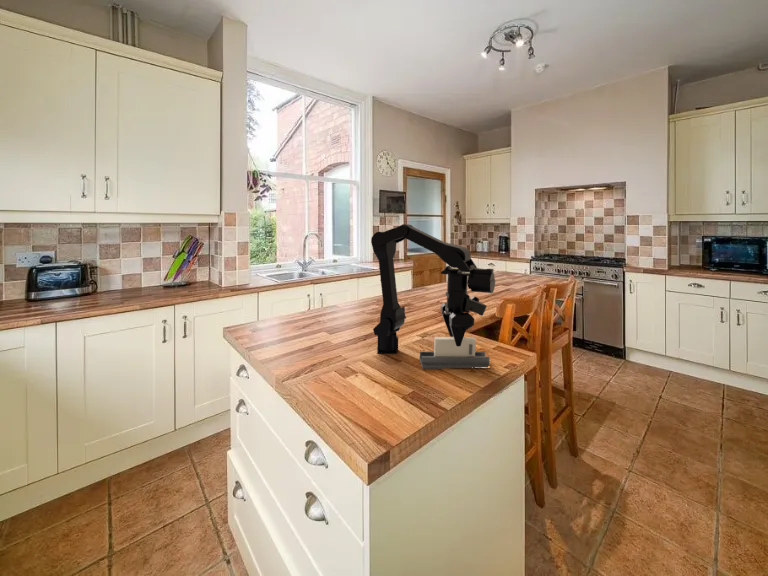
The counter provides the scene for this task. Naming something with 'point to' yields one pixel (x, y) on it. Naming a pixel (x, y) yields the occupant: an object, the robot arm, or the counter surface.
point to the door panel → (454, 346)
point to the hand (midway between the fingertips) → (455, 341)
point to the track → (453, 360)
